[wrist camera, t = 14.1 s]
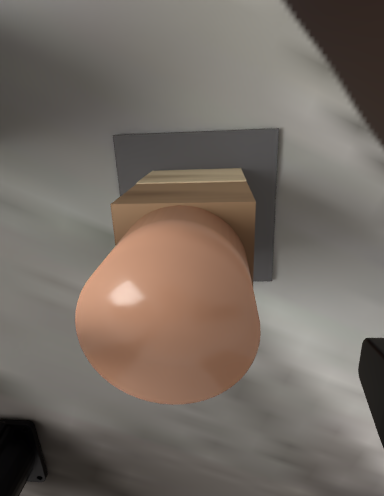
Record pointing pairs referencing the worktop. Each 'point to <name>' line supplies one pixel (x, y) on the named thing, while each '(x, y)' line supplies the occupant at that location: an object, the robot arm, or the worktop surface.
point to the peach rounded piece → (171, 309)
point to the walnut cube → (196, 195)
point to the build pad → (212, 157)
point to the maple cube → (194, 176)
